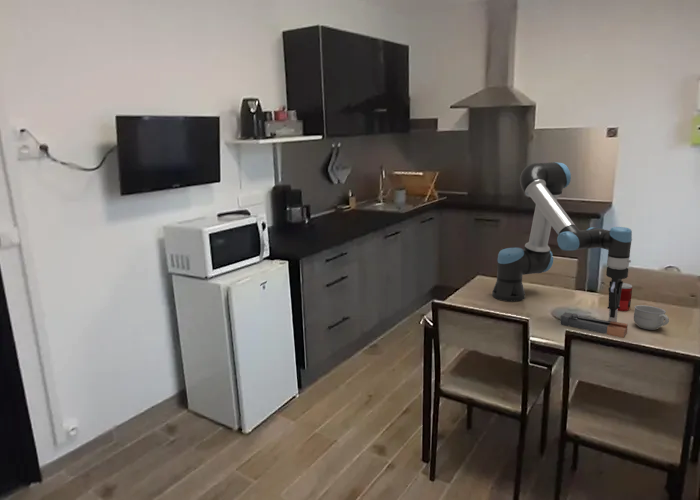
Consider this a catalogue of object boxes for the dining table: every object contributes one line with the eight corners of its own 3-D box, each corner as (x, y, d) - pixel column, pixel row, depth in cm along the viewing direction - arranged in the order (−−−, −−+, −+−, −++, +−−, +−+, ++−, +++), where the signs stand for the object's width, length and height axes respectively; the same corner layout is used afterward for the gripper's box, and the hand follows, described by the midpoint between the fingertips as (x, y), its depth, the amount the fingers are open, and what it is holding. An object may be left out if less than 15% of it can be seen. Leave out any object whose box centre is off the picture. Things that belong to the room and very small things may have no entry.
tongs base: (560, 324, 208) (560, 315, 207) (564, 320, 212) (565, 312, 211) (623, 337, 193) (624, 328, 193) (626, 333, 198) (627, 324, 197)
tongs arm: (570, 324, 207) (570, 315, 206) (572, 322, 210) (572, 312, 209) (625, 334, 196) (626, 324, 195) (627, 331, 199) (628, 321, 198)
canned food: (632, 311, 221) (635, 287, 219) (612, 310, 223) (615, 286, 221) (626, 306, 229) (629, 282, 226) (607, 305, 230) (609, 282, 228)
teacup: (626, 323, 209) (628, 304, 207) (651, 321, 209) (653, 303, 208) (649, 335, 195) (651, 316, 193) (675, 334, 196) (678, 315, 194)
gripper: (624, 272, 190) (618, 331, 195) (632, 265, 200) (626, 321, 205) (602, 269, 195) (597, 327, 200) (611, 262, 204) (606, 317, 210)
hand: (612, 324), depth 202 cm, fingers closed
